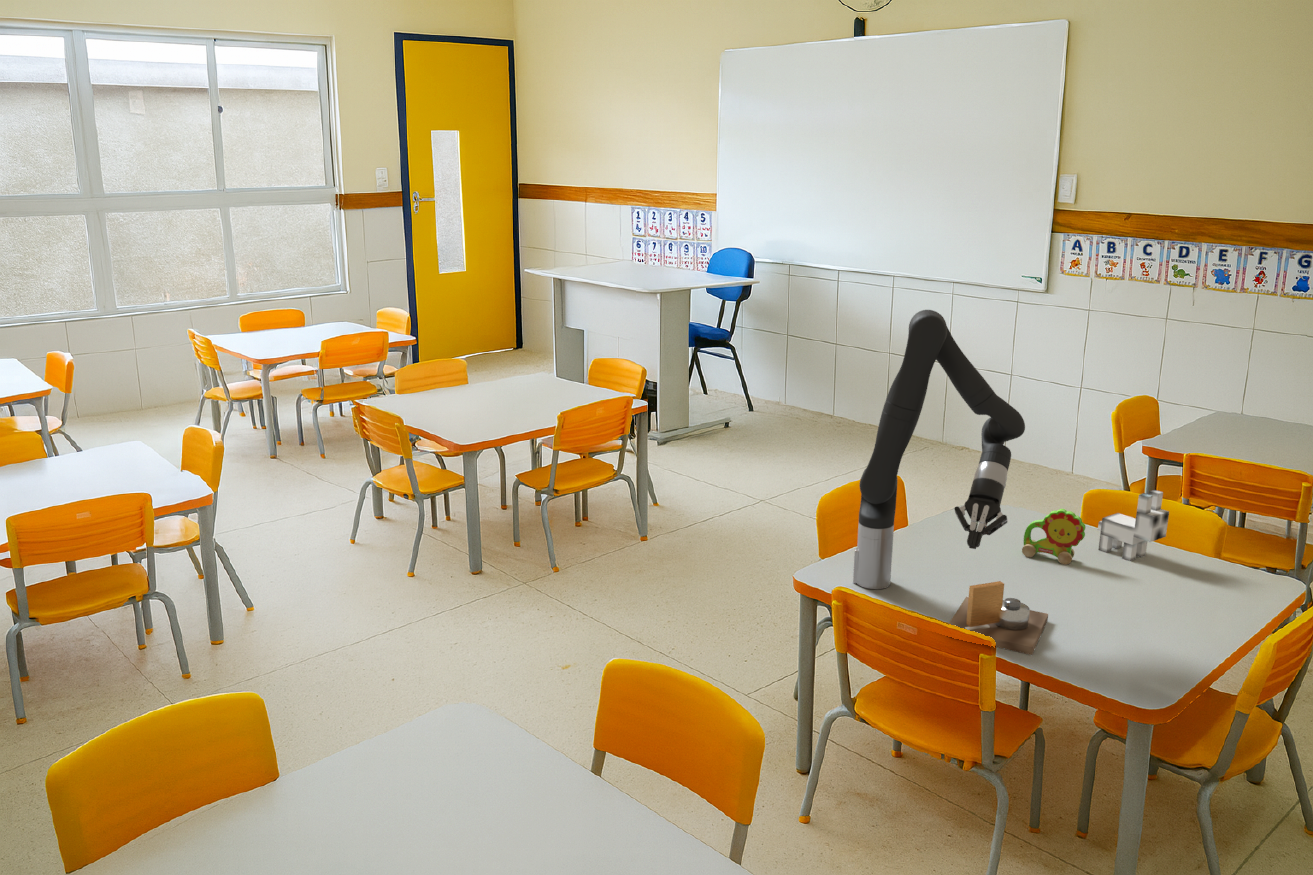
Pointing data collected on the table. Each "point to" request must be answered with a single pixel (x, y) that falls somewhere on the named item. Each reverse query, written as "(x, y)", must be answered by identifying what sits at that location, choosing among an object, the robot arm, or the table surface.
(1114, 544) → the toy llama
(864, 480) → the robot arm
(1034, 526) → the toy lion
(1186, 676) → the table surface
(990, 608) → the lock handle
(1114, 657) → the table surface
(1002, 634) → the base
